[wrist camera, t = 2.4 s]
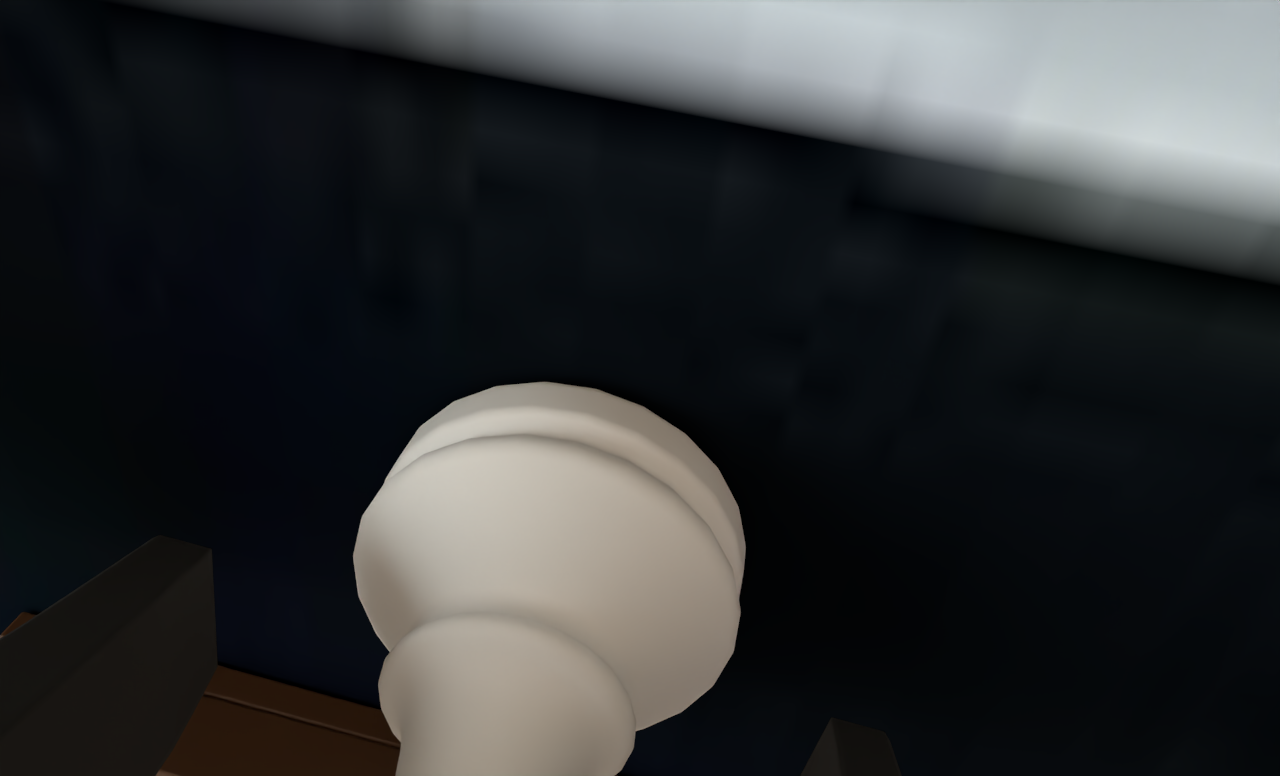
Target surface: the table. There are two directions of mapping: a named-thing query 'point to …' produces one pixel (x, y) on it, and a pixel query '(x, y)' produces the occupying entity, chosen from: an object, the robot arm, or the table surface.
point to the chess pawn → (546, 582)
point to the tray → (276, 731)
